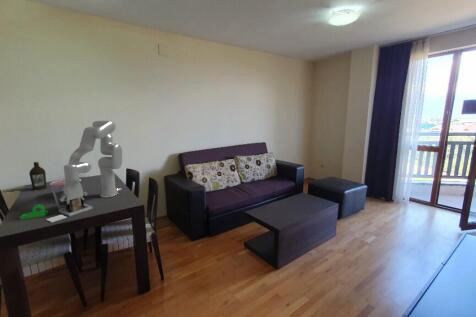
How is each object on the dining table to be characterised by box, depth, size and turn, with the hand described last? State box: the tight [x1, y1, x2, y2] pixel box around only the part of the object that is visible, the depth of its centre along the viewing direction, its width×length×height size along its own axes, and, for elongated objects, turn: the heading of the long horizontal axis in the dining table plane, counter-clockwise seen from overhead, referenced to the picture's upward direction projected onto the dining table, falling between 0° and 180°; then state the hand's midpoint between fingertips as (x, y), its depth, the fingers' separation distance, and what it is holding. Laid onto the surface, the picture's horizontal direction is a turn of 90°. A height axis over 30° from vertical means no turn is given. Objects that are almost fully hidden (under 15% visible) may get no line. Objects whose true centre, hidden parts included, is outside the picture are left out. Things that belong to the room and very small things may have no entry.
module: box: [69, 198, 83, 212], centre depth 153 cm, size 5×5×9 cm
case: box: [52, 189, 93, 217], centre depth 154 cm, size 15×20×14 cm
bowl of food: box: [49, 178, 66, 192], centre depth 184 cm, size 20×20×12 cm
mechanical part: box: [19, 203, 49, 220], centre depth 144 cm, size 12×6×8 cm, turn 113°
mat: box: [45, 214, 68, 224], centre depth 140 cm, size 8×7×1 cm
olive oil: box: [29, 161, 48, 191], centre depth 198 cm, size 11×11×25 cm
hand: (75, 207), depth 153 cm, fingers open, 7 cm apart
